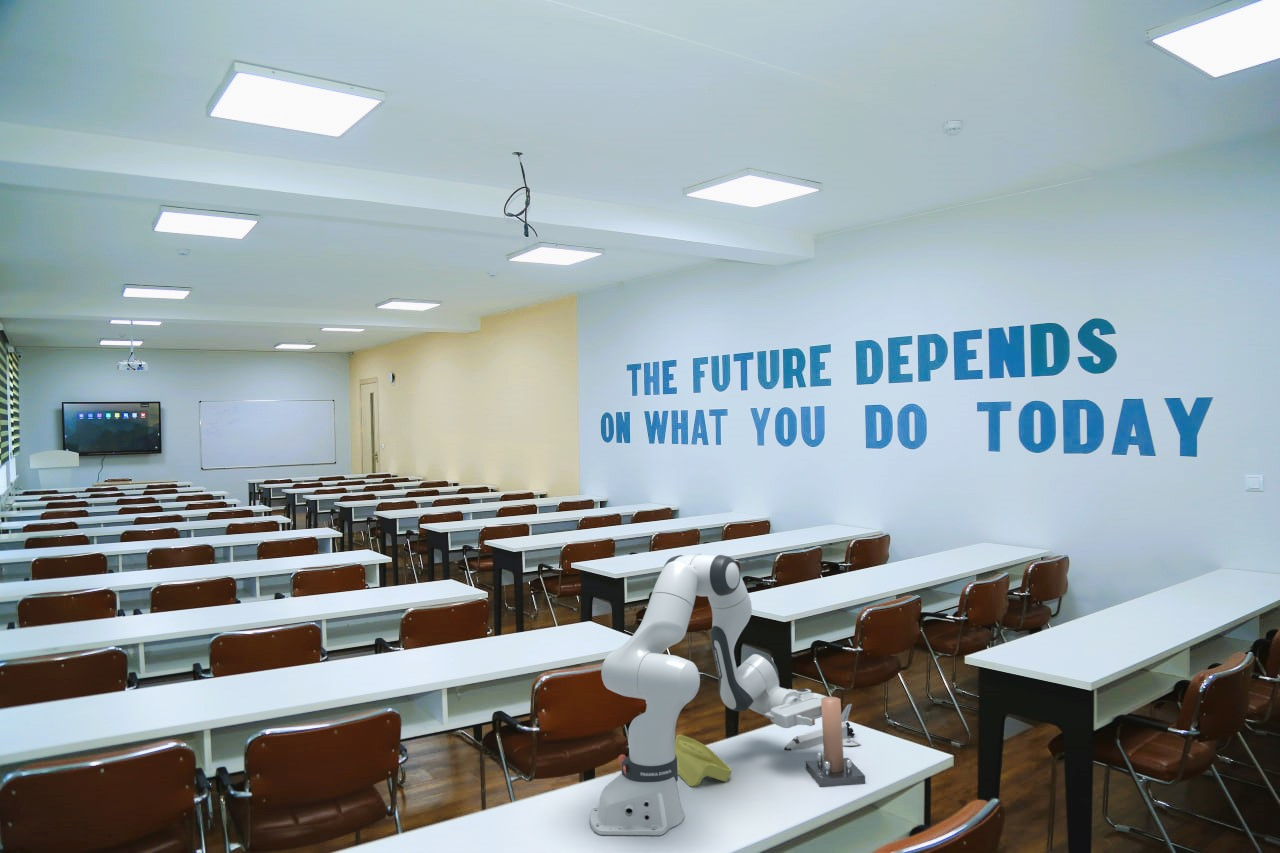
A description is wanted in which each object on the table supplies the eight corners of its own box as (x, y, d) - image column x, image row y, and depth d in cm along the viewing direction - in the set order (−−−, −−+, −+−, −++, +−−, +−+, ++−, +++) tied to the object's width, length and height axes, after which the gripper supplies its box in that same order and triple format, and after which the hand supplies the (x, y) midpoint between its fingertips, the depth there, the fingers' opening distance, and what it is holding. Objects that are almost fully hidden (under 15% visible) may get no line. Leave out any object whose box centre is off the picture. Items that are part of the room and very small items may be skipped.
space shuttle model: (769, 743, 236) (767, 709, 236) (836, 728, 246) (835, 696, 246) (800, 761, 222) (798, 725, 222) (870, 745, 232) (869, 710, 232)
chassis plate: (820, 787, 204) (819, 767, 204) (805, 768, 215) (804, 749, 216) (865, 783, 205) (864, 763, 205) (848, 765, 217) (847, 746, 217)
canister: (833, 773, 207) (829, 703, 207) (820, 767, 211) (817, 698, 212) (847, 769, 209) (844, 700, 210) (834, 762, 214) (831, 695, 214)
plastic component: (735, 772, 209) (704, 762, 206) (724, 799, 208) (693, 789, 205) (702, 742, 227) (673, 732, 224) (692, 766, 227) (663, 757, 223)
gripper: (760, 702, 218) (797, 715, 207) (811, 687, 230) (849, 698, 219) (761, 725, 218) (798, 739, 206) (812, 709, 230) (850, 721, 218)
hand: (825, 718), depth 213 cm, fingers open, 8 cm apart
